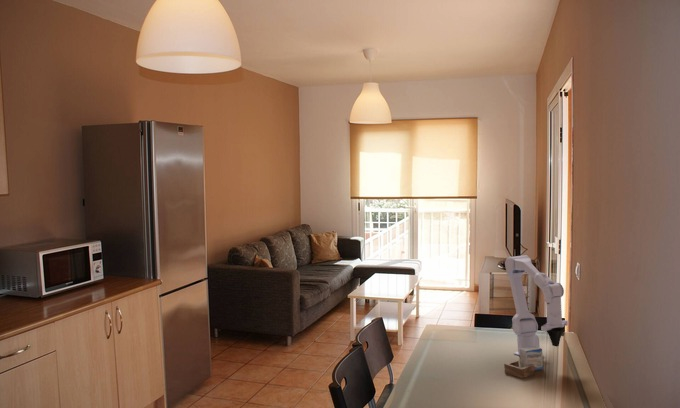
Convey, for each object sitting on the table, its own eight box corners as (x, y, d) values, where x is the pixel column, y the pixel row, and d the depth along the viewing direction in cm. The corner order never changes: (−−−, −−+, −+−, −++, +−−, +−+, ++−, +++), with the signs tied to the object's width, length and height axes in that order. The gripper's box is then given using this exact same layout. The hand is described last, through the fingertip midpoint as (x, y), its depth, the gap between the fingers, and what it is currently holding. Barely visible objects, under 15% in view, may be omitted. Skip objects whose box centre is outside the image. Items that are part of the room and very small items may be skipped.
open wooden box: (516, 368, 224) (516, 360, 224) (534, 374, 217) (534, 365, 217) (504, 372, 221) (504, 364, 220) (522, 378, 213) (522, 369, 213)
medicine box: (526, 372, 220) (525, 351, 219) (520, 369, 224) (519, 348, 224) (543, 369, 222) (542, 348, 221) (536, 366, 226) (535, 345, 226)
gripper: (551, 317, 214) (552, 351, 215) (573, 311, 222) (575, 344, 222) (536, 314, 220) (537, 347, 221) (558, 308, 228) (560, 340, 228)
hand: (555, 345), depth 222 cm, fingers closed
